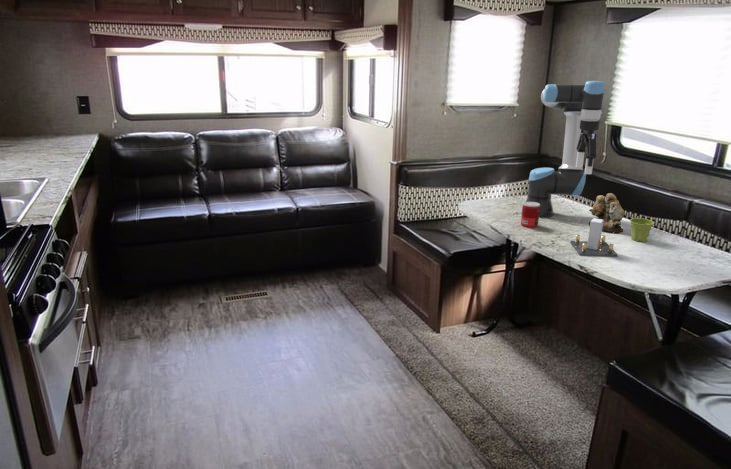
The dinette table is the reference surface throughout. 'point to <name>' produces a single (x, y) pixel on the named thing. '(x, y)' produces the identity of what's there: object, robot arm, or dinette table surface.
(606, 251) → the standoff chassis
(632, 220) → the plant pot
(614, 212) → the owl figurine
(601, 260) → the dinette table surface
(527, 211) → the canned food
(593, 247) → the skincare box
